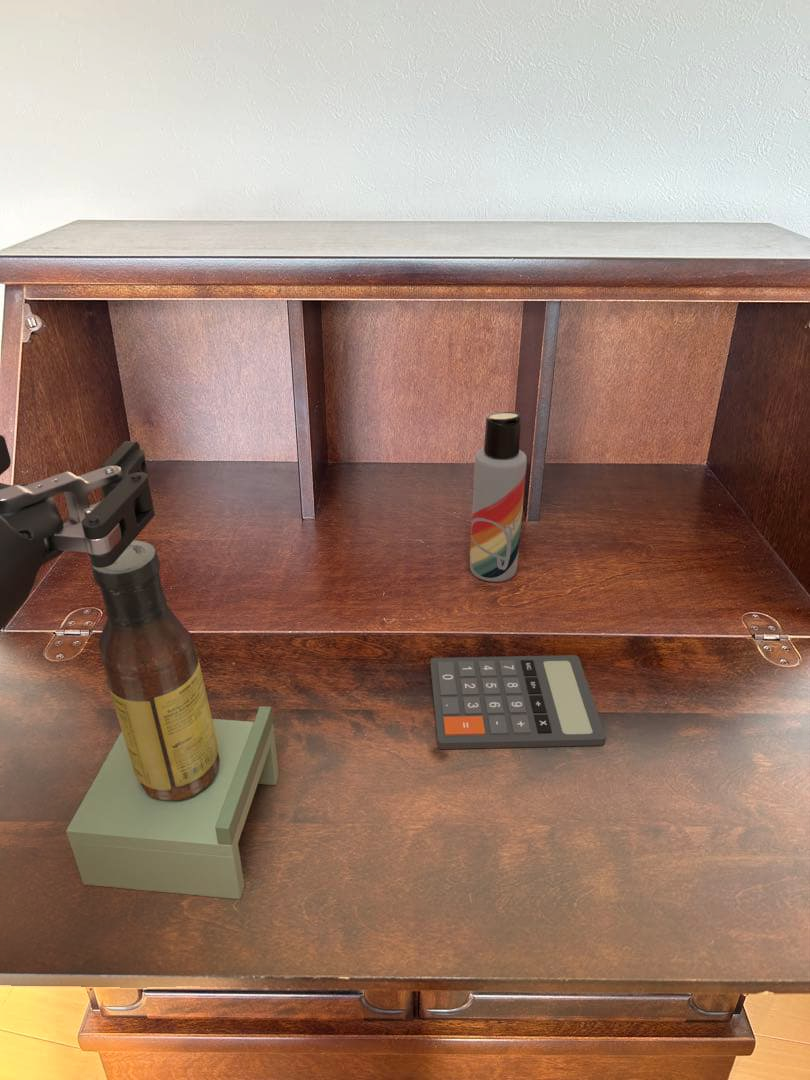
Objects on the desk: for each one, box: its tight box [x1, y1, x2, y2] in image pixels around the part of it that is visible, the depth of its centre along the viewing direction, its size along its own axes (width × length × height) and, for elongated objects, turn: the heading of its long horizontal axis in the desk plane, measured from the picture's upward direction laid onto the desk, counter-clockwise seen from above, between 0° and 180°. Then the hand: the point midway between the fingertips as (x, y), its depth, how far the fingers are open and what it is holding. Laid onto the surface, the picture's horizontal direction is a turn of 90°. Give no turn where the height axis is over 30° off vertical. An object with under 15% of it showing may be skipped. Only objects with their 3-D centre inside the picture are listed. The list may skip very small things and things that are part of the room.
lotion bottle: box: [469, 411, 528, 583], centre depth 91 cm, size 6×6×20 cm
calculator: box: [429, 654, 607, 750], centre depth 76 cm, size 12×1×15 cm
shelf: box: [65, 706, 280, 900], centre depth 62 cm, size 12×12×8 cm
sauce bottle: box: [90, 539, 219, 801], centre depth 56 cm, size 6×6×20 cm
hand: (68, 451), depth 49 cm, fingers open, 8 cm apart
